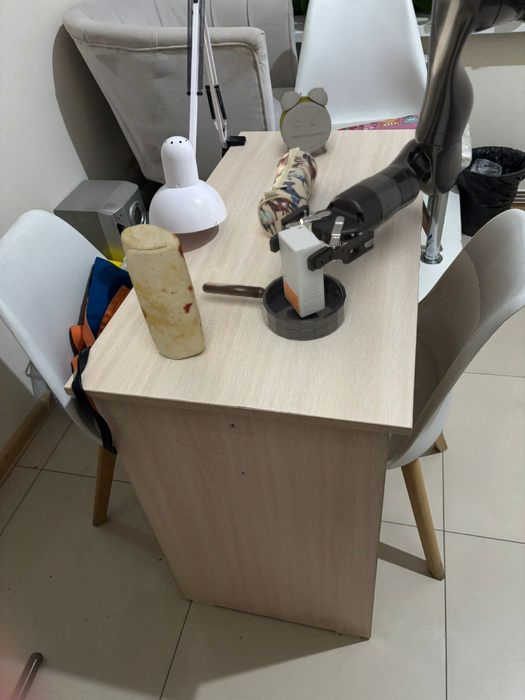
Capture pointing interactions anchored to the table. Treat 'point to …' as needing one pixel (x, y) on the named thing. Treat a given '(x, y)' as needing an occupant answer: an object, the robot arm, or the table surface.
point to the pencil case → (287, 189)
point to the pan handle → (233, 290)
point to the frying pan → (310, 327)
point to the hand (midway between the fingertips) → (290, 255)
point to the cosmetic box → (301, 270)
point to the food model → (164, 289)
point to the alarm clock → (305, 120)
